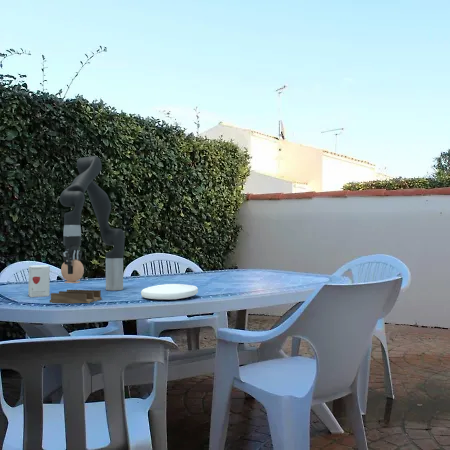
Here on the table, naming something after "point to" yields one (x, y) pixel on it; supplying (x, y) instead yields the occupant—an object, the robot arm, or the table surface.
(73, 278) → the saucer
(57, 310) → the table surface
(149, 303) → the table surface
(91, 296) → the dish rack
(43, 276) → the supplement box
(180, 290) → the plate
